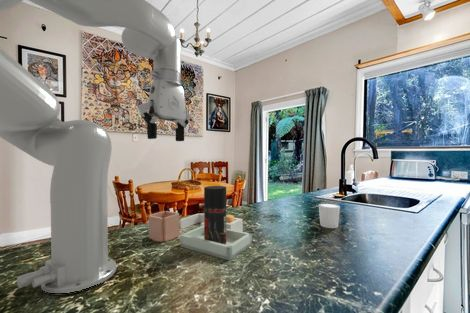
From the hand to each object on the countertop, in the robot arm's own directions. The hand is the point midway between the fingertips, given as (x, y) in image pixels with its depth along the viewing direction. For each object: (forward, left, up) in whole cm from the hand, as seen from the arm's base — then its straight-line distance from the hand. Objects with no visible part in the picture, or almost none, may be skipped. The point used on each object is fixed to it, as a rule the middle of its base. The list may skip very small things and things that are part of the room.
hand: (166, 139), depth 66 cm
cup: (+1, +3, -29) cm, 29 cm away
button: (+14, -11, -28) cm, 33 cm away
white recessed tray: (+14, -5, -29) cm, 33 cm away
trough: (+4, -14, -29) cm, 32 cm away
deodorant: (+4, -14, -28) cm, 32 cm away
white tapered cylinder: (+38, -37, -29) cm, 61 cm away
